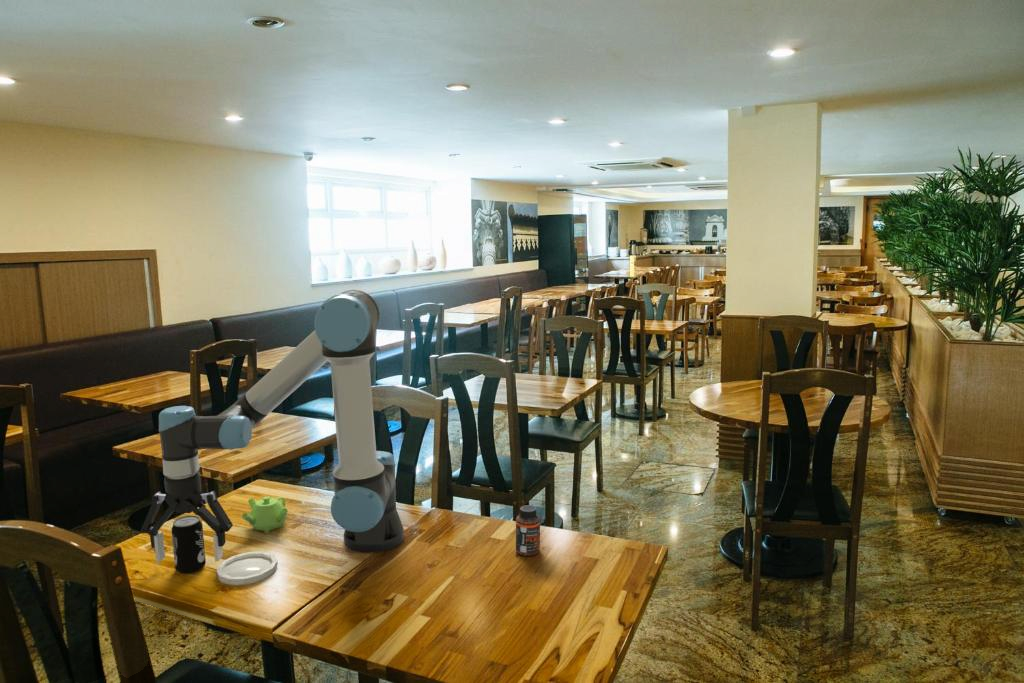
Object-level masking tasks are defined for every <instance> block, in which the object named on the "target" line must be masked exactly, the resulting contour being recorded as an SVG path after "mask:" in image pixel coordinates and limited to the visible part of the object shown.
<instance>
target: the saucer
mask: <svg viewBox="0 0 1024 683" xmlns="http://www.w3.org/2000/svg"><path fill="white" fill-rule="evenodd" d="M278 562H279V561H278V558H277V557H276V556H275V554H274V553H273V554H272V553H271V552H267V551H248V552H243V553H239V554H234V555H232V556H230V557H229V558H227V559H225V560H223V561H222V562H221V563H220V564H218V566H217V568H216V575H217V579H218V581H219V582H220V583H222V584H224V585H227V586H238V587H240V586H247V585H252V584H256V583H259V582H261V581H264V580H266V579H268V578H270V577H271V576H272V575H273V574H275V572H276V571H277V569H278V565H279V563H278Z"/></svg>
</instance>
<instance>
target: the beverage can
mask: <svg viewBox="0 0 1024 683" xmlns="http://www.w3.org/2000/svg"><path fill="white" fill-rule="evenodd" d="M203 526H204V525H203V522H202V521H201V518H200V517H199V516H198V515H184V516H181V517H177V518H176V519H175V520H174V521H173V522H172V527H171V529H170V530H171V537H172V538H171V540H172V549H173V550H172V551H173V559H174V568H175V570H176V572H178V573H179V574H183V575H188V574H189V575H190V574H194V573H197V572H199V571H201V570H202V569H203V568H204V566H205V565H206V563H207V561H206V552H205V551H206V550H205V549H206V548H205V540H204V538H205V537H204V528H203Z"/></svg>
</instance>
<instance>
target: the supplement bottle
mask: <svg viewBox="0 0 1024 683" xmlns="http://www.w3.org/2000/svg"><path fill="white" fill-rule="evenodd" d="M540 546H541V519H540V516H539V515H538V514H537V507H536V506H535V505H530V504H529V505H528V504H527V505H522V506H520V508H519V514H518V515H517V516H516V519H515V552H517V554H519V555H521V556H524V557H531V556H532V557H533V556H535V555H537V554H538V553H539V552H540V551H541V550H540V548H541V547H540Z"/></svg>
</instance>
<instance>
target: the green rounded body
mask: <svg viewBox="0 0 1024 683" xmlns="http://www.w3.org/2000/svg"><path fill="white" fill-rule="evenodd" d="M280 500H281V501H280ZM247 502H248V504H249V506H250V508H251V510H250V512H249V514H248V512H244V513H242V516H241V517H242V518H241V519H243V520H245V521H246V522H248V524H249V526H251V527H252V528H253V530H254V531H263V534H270V533H272V531H271V530H274V529H276V528H284V523H285V522H286V521H287V519H288V518H287V517H288V515H287V513H288V512H289V510H288V508H287V507H286V499H285V497H283V496H278V497H275V498H274V497H271V496H264V497H263V498H262V499H259V500H257V501H256V500H255V499H254V497H253V498H250V499H249V500H247Z"/></svg>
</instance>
